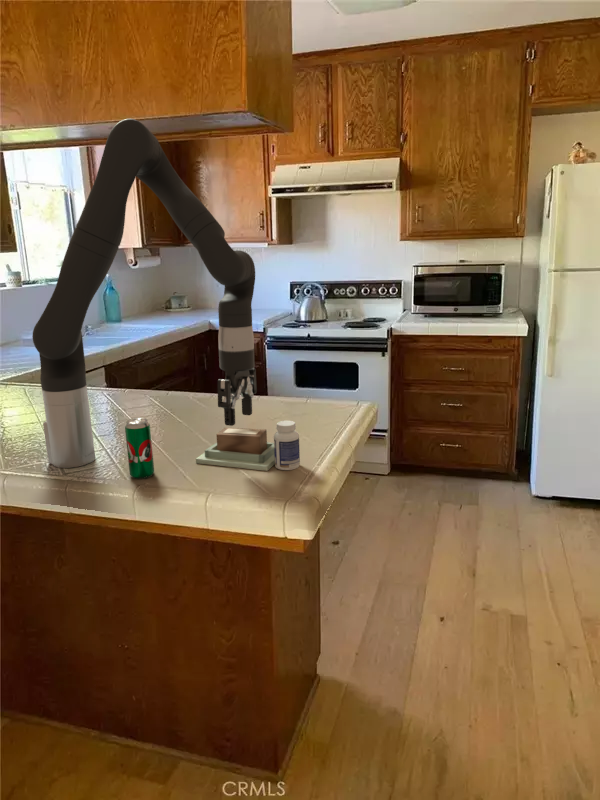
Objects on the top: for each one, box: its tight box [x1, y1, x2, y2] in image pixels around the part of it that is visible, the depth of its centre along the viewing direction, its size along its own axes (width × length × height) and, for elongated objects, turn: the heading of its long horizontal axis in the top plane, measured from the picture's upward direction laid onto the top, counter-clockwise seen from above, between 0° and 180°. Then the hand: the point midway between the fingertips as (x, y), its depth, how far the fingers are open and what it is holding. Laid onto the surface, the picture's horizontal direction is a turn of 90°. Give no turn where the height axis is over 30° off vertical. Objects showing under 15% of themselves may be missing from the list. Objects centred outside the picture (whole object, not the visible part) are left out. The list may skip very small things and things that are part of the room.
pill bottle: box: [273, 420, 301, 471], centre depth 131 cm, size 5×5×10 cm
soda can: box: [124, 417, 155, 480], centre depth 128 cm, size 5×5×12 cm
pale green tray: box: [195, 441, 275, 472], centre depth 138 cm, size 17×11×3 cm, turn 70°
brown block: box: [216, 427, 268, 455], centre depth 138 cm, size 10×5×5 cm, turn 77°
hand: (238, 419), depth 136 cm, fingers open, 8 cm apart
